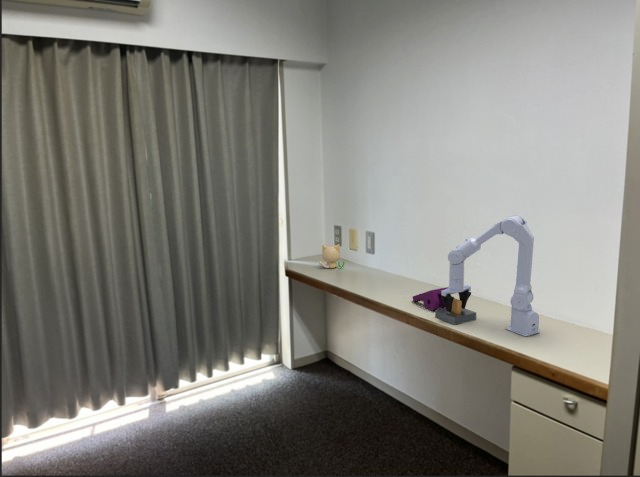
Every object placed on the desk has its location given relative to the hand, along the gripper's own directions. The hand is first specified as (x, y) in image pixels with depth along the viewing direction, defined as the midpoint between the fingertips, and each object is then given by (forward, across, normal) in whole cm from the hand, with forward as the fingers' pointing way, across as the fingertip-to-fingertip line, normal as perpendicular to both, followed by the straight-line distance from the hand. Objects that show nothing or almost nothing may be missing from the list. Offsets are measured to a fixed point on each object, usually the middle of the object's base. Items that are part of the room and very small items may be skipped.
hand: (455, 309), depth 194 cm
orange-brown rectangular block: (+4, 0, 0) cm, 4 cm away
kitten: (+4, -2, -105) cm, 105 cm away
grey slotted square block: (+4, 0, 0) cm, 4 cm away
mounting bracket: (+4, -3, -19) cm, 20 cm away
